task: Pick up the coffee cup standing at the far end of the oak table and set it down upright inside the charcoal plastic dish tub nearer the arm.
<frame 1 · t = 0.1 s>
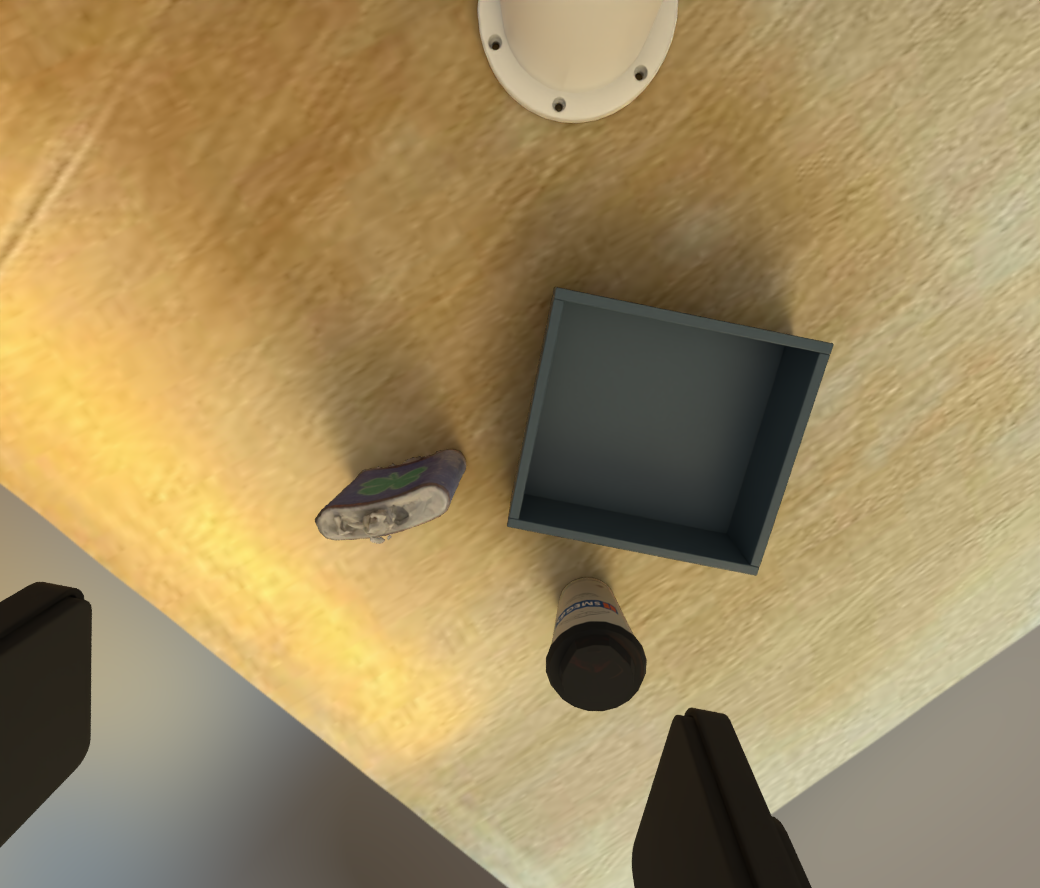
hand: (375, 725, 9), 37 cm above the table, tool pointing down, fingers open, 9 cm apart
coffee cup: (586, 601, 50), on the table
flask: (411, 473, 47), on the table
tub: (646, 419, 45), on the table
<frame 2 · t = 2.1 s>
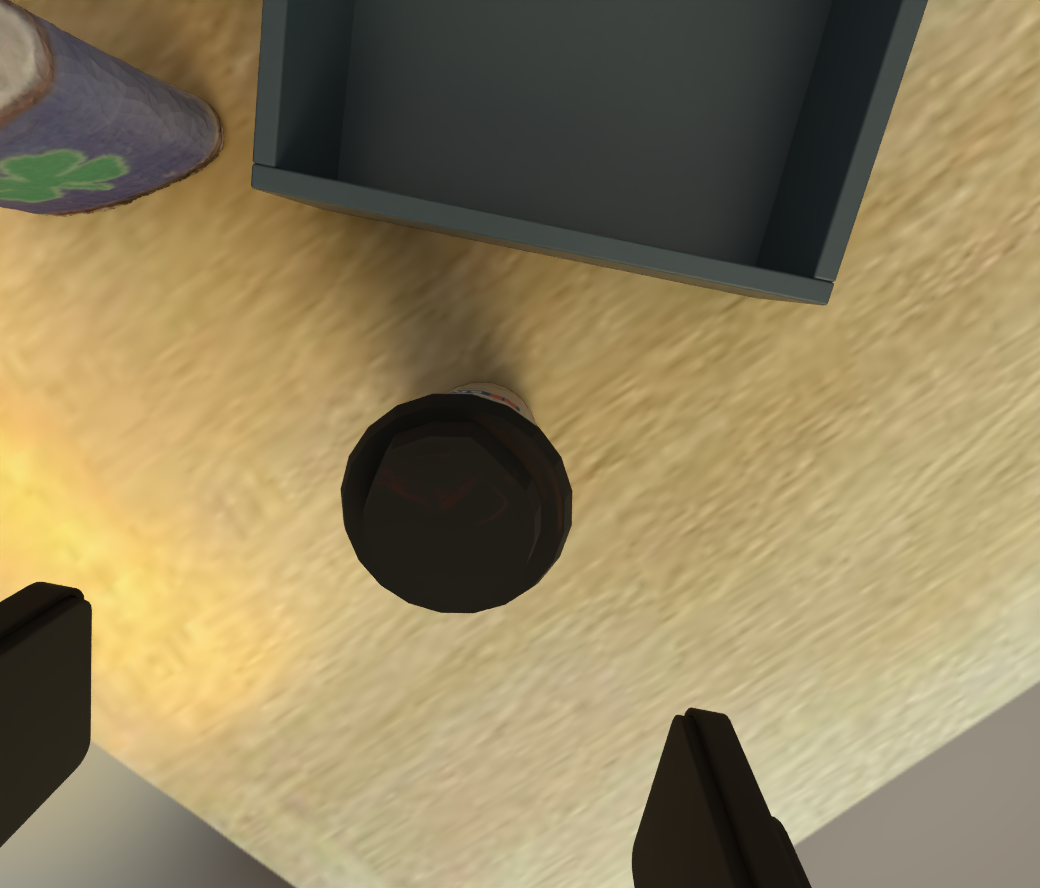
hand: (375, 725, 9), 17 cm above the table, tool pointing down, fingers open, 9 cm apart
coffee cup: (483, 432, 26), on the table
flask: (122, 163, 24), on the table
tub: (587, 21, 22), on the table
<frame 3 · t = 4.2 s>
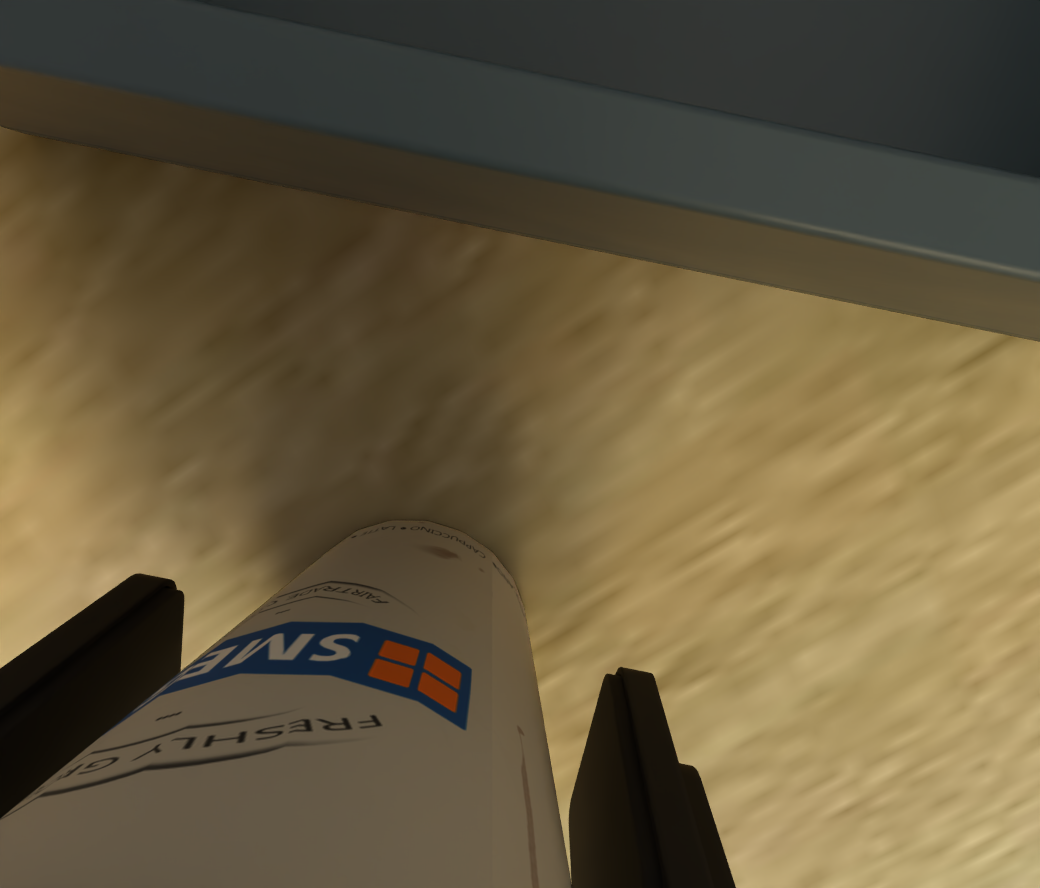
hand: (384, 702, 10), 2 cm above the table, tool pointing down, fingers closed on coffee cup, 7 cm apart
coffee cup: (416, 618, 12), on the table, touching gripper
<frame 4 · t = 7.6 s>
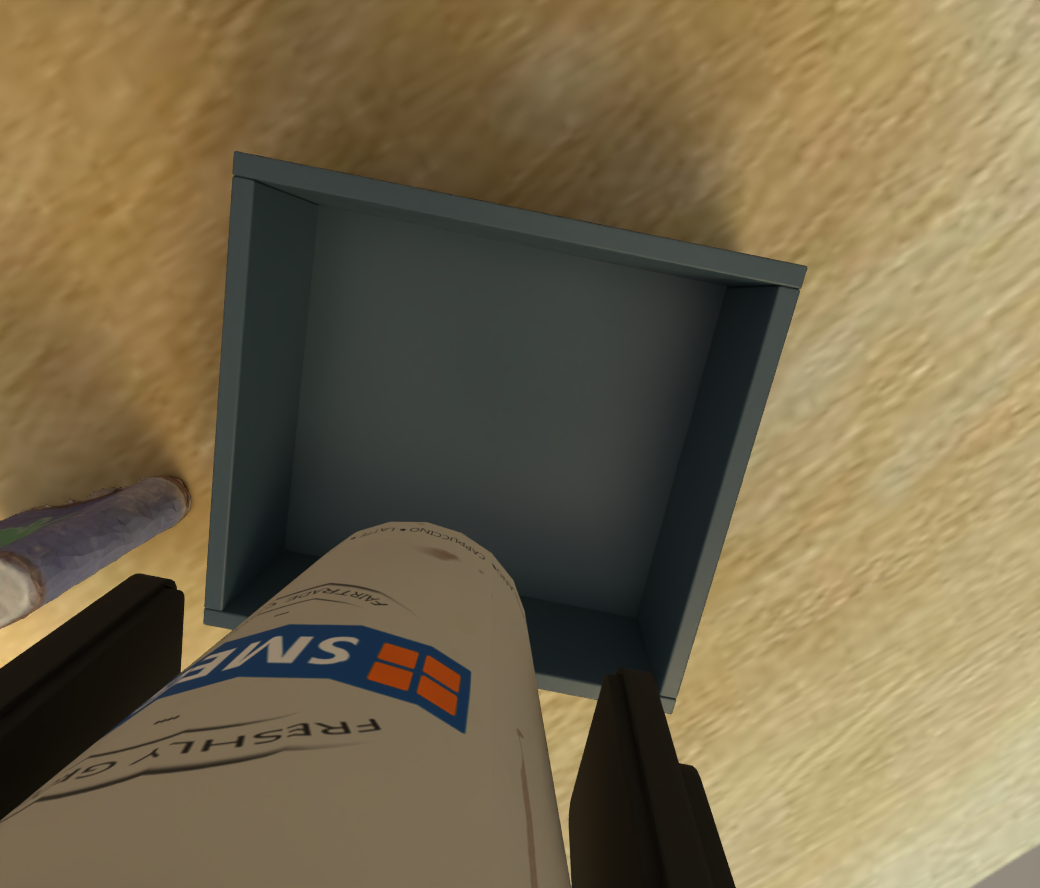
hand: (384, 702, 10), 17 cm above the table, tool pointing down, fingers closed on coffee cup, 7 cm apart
coffee cup: (416, 619, 12), point 14 cm above the table, touching gripper
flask: (106, 516, 28), on the table
tub: (491, 424, 26), on the table
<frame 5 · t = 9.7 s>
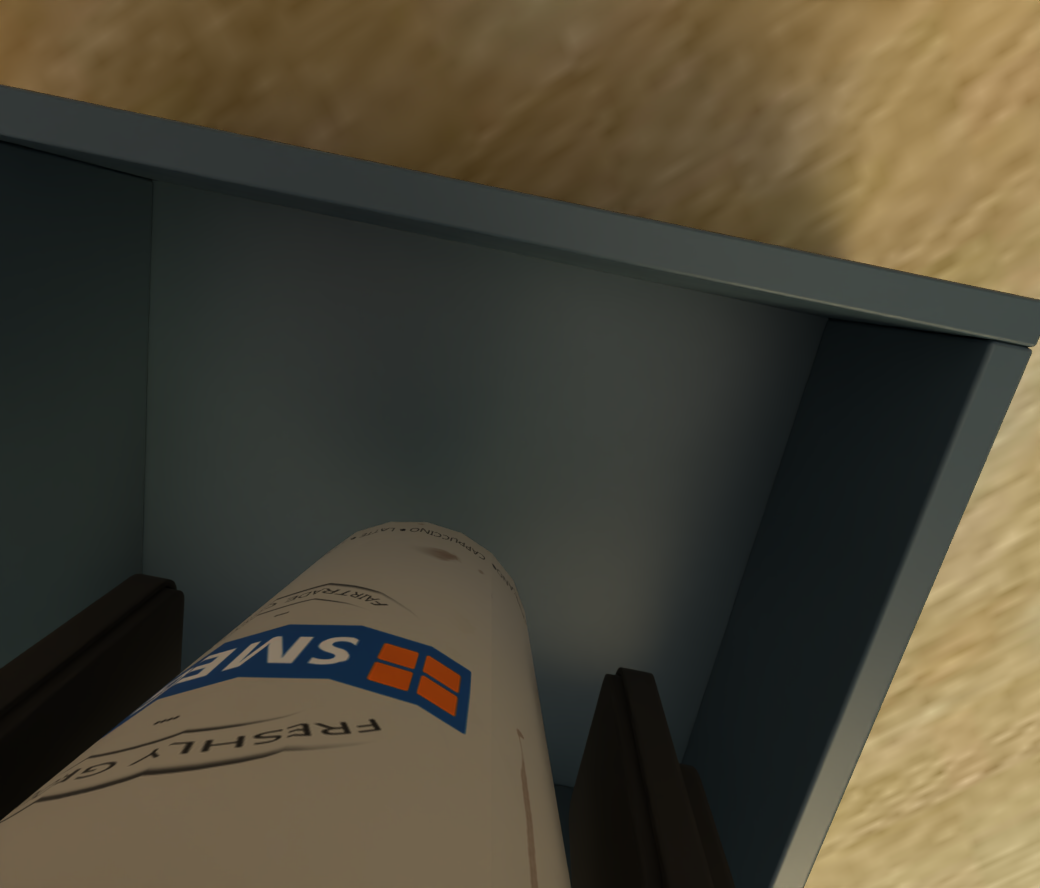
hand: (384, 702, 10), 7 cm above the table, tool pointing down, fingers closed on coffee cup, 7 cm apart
coffee cup: (416, 619, 12), point 5 cm above the table, touching gripper
tub: (447, 524, 17), on the table
when the fingers open (3 cm above the table, at t = 11.4 s): coffee cup stays where it is, resting on tub.
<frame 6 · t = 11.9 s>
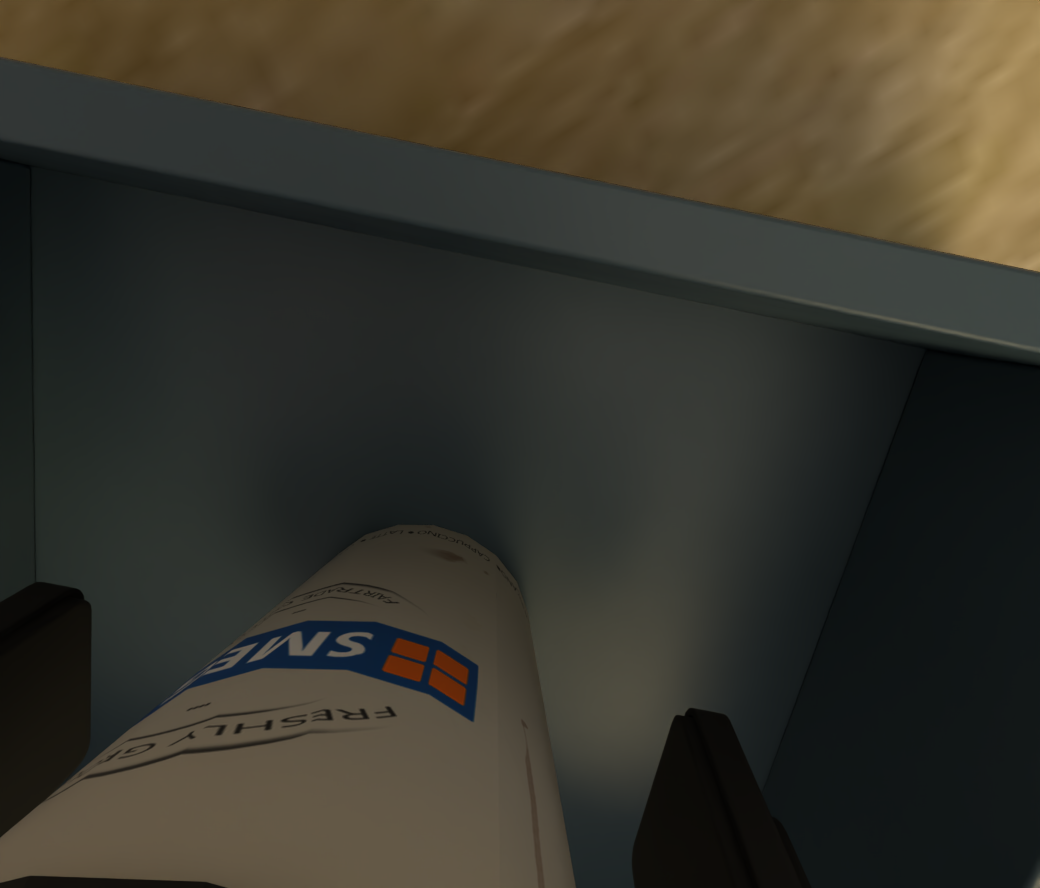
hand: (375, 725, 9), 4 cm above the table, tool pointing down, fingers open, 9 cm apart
coffee cup: (422, 619, 13), resting on tub
tub: (425, 606, 13), on the table
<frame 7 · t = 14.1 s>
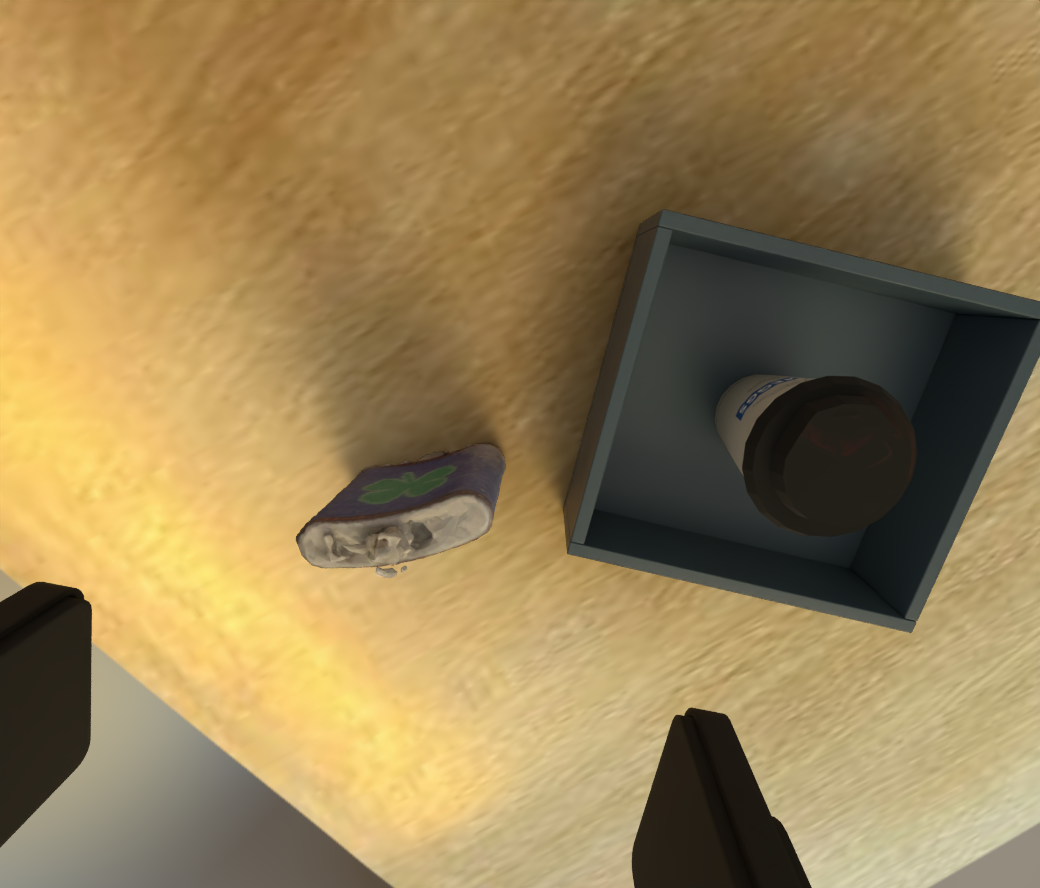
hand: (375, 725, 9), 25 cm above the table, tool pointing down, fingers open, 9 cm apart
coffee cup: (755, 414, 33), resting on tub
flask: (430, 474, 35), on the table
tub: (752, 412, 33), on the table
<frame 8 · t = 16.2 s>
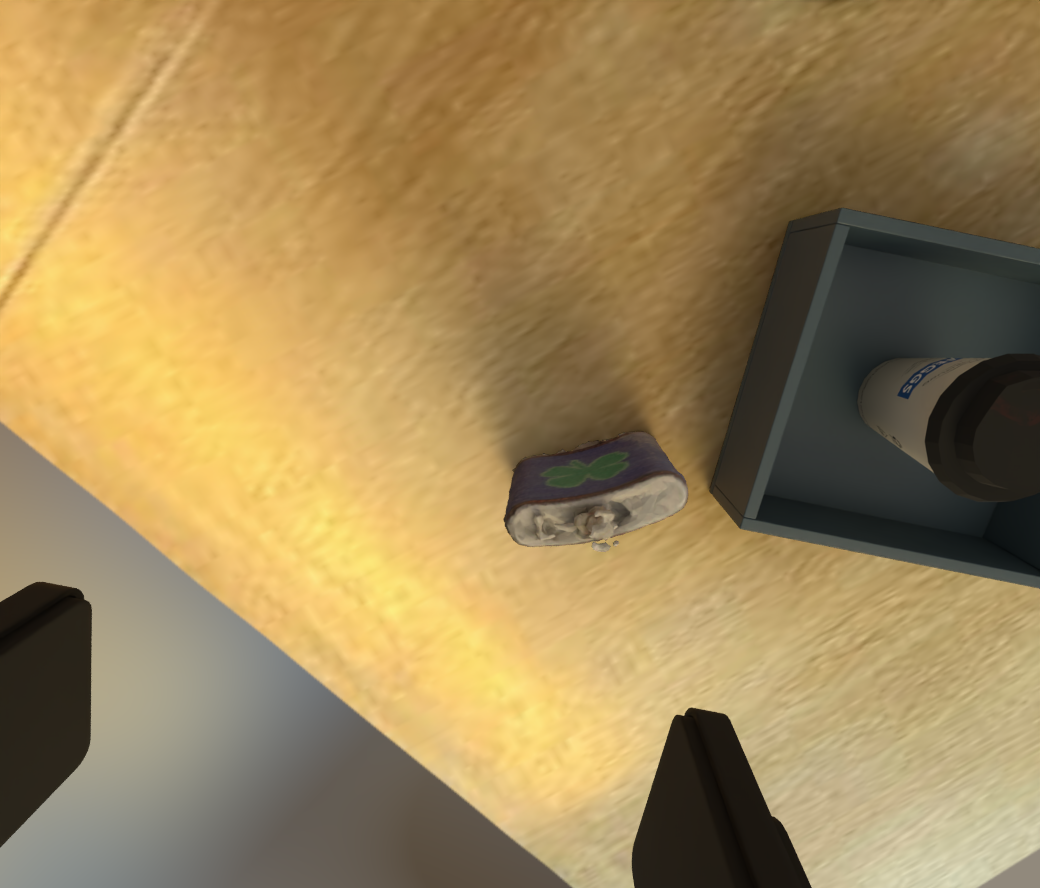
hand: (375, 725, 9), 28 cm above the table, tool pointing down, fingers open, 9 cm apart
coffee cup: (895, 395, 35), resting on tub
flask: (583, 462, 38), on the table
tub: (891, 393, 36), on the table
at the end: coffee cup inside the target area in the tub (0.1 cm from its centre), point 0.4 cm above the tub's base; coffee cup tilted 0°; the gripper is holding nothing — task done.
